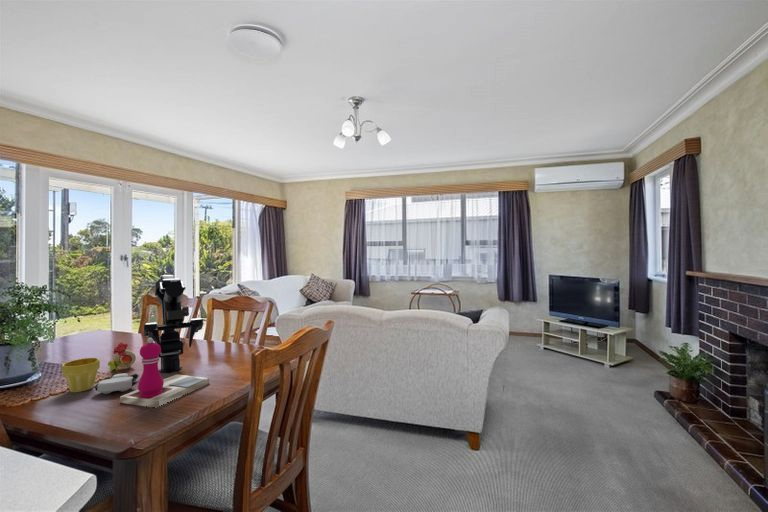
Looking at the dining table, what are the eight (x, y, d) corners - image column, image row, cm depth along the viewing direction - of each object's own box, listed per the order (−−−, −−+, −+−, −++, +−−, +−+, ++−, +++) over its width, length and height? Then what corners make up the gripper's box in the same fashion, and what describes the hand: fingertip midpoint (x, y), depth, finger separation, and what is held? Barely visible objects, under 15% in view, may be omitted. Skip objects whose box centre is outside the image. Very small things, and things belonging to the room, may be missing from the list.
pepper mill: (168, 396, 123) (167, 337, 123) (144, 404, 117) (143, 342, 117) (157, 392, 127) (156, 334, 127) (133, 399, 121) (132, 339, 121)
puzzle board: (120, 402, 119) (120, 395, 119) (177, 379, 140) (176, 373, 140) (156, 408, 114) (156, 400, 114) (209, 383, 135) (209, 377, 135)
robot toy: (102, 387, 135) (90, 398, 122) (102, 374, 135) (90, 385, 122) (141, 381, 140) (135, 392, 127) (141, 369, 141) (135, 379, 127)
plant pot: (59, 397, 124) (58, 368, 123) (65, 387, 132) (65, 360, 132) (98, 390, 129) (97, 362, 129) (101, 381, 138) (101, 355, 138)
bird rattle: (129, 370, 157) (105, 365, 153) (141, 345, 159) (118, 339, 155) (128, 375, 152) (103, 369, 147) (141, 349, 154) (116, 343, 149)
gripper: (143, 301, 127) (144, 345, 120) (203, 297, 137) (207, 337, 131) (143, 315, 134) (144, 356, 128) (199, 310, 145) (203, 348, 138)
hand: (175, 349), depth 131 cm, fingers open, 9 cm apart
